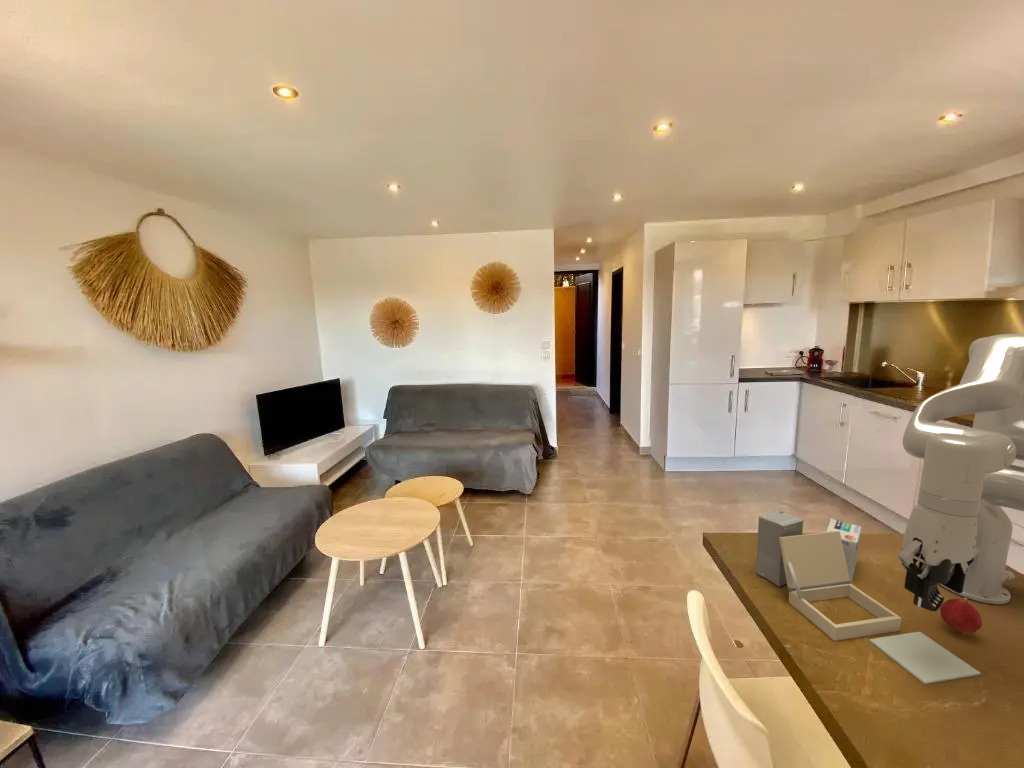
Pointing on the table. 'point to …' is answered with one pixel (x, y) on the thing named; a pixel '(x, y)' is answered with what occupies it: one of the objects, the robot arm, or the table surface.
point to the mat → (924, 658)
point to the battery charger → (935, 585)
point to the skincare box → (774, 544)
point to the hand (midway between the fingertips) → (932, 590)
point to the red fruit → (961, 615)
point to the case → (829, 585)
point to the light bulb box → (847, 541)
